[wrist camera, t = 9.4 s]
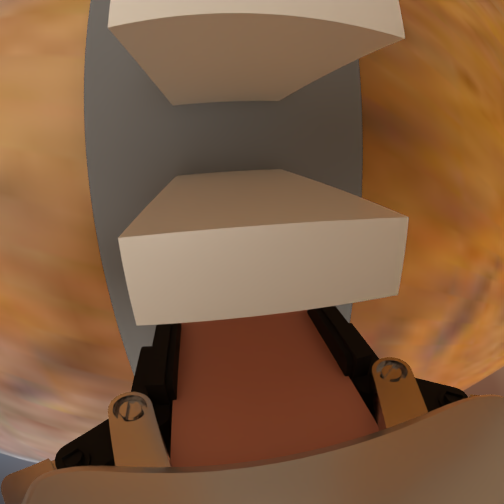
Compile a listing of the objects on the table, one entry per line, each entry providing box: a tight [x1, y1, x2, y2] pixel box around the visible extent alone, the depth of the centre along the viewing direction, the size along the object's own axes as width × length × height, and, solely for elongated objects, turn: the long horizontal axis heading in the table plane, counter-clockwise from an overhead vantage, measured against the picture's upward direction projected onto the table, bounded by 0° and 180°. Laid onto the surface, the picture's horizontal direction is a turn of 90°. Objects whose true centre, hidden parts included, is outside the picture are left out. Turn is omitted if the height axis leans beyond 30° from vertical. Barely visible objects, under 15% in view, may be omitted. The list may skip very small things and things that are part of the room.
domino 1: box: [108, 0, 405, 106], centre depth 8 cm, size 5×2×10 cm, turn 92°
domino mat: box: [84, 0, 363, 376], centre depth 15 cm, size 14×34×1 cm, turn 2°
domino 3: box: [170, 310, 379, 467], centre depth 10 cm, size 5×2×10 cm, turn 92°
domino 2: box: [118, 169, 409, 326], centre depth 10 cm, size 5×2×10 cm, turn 92°
